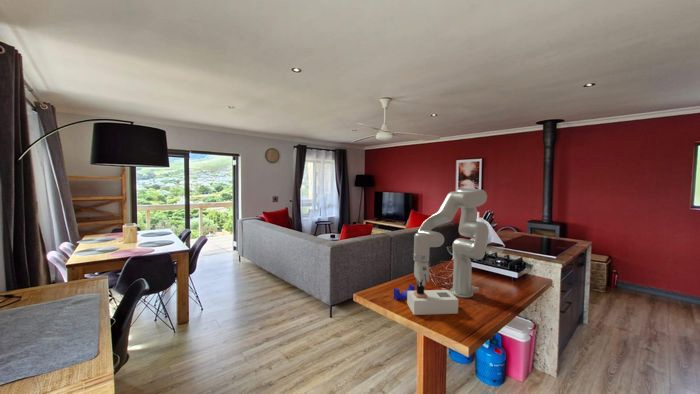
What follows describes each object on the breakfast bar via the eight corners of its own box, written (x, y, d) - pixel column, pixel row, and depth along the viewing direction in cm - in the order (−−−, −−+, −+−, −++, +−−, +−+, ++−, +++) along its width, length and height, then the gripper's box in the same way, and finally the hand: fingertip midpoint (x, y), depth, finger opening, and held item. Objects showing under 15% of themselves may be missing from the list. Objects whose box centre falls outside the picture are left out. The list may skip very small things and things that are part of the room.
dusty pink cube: (423, 303, 147) (423, 291, 147) (426, 307, 142) (427, 295, 142) (413, 303, 147) (414, 291, 146) (416, 308, 142) (417, 295, 141)
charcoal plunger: (445, 304, 148) (446, 292, 148) (449, 309, 143) (450, 296, 143) (436, 305, 148) (436, 292, 147) (440, 309, 143) (440, 296, 142)
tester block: (447, 302, 152) (448, 289, 151) (457, 313, 140) (458, 299, 140) (407, 303, 150) (407, 290, 150) (414, 314, 138) (414, 300, 138)
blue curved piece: (409, 293, 163) (409, 283, 163) (414, 296, 159) (414, 286, 159) (392, 297, 158) (392, 287, 157) (397, 301, 154) (397, 290, 153)
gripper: (434, 262, 135) (433, 299, 137) (423, 253, 150) (422, 287, 152) (418, 262, 135) (417, 300, 136) (409, 253, 150) (408, 287, 151)
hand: (420, 293), depth 144 cm, fingers closed
